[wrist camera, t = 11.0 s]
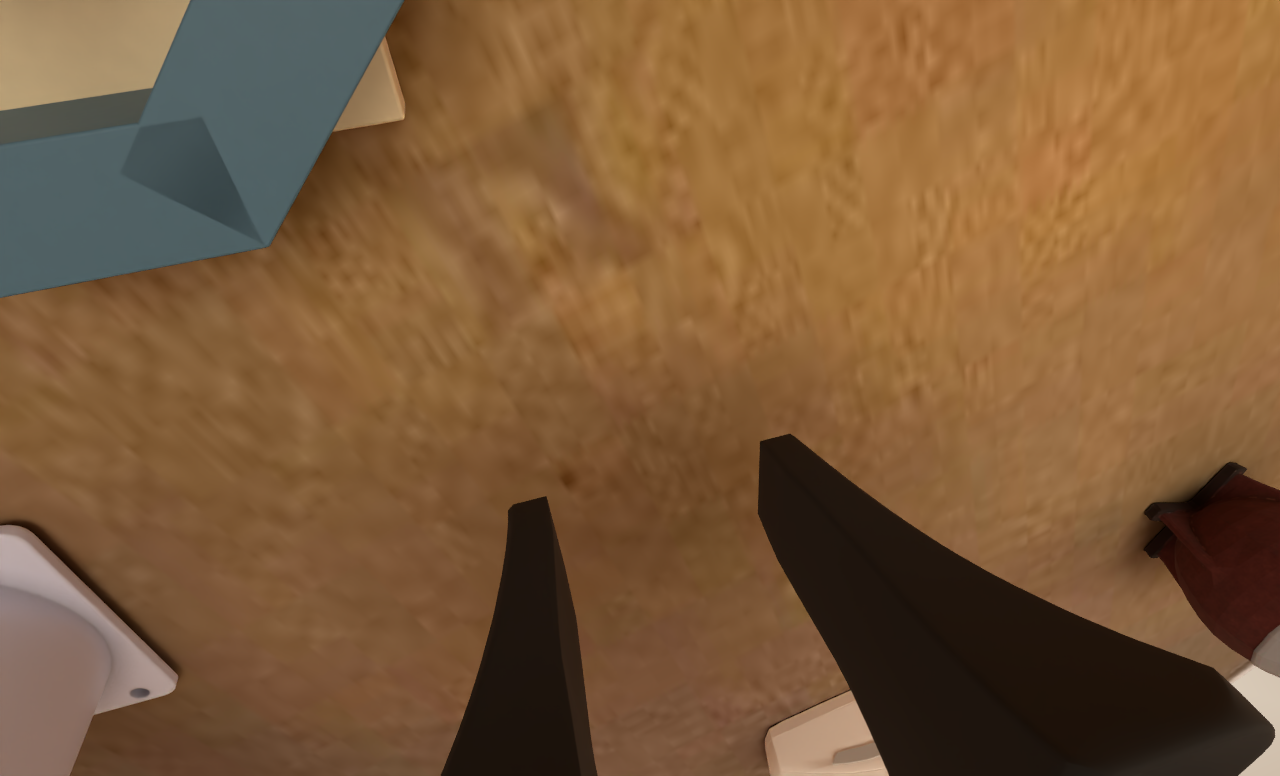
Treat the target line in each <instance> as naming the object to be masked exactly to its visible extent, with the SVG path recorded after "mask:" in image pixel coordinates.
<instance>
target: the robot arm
mask: <svg viewBox="0 0 1280 776" xmlns="http://www.w3.org/2000/svg"><path fill="white" fill-rule="evenodd" d="M758 515H759V517H760V519H761V522H762V524H763V527H764V529H765V532H766V534H767V536H768V539H769V541H770V543H771V546H772V548H773V550H774V552H775V555H776V557H777V559H778V561H779V563H780V565H781V567H782V568H783V570H784V572H785V574H786V575H787V577H788V579H789V581H790V582H791V584H792V586H793V588H794V589H795V591H796V593H797V595H798V596H799V598H800V600H801V602H802V603H803V605H804V607H805V609H806V610H807V612H808V614H809V615H810V617H811V619H812V621H813V622H814V624H815V626H816V627H817V629H818V631H819V633H820V634H821V636H822V638H823V640H824V641H825V643H826V645H827V646H828V648H829V650H830V652H831V653H832V655H833V657H834V658H835V660H836V662H837V664H838V666H839V668H840V670H841V672H842V673H843V675H844V677H845V679H846V681H847V683H848V685H849V687H850V689H851V692H852V694H853V696H854V698H855V700H856V702H857V705H858V707H859V709H860V711H861V713H862V715H863V718H864V720H865V722H866V724H867V726H868V729H869V731H870V733H871V735H872V737H873V740H874V742H875V744H876V747H877V749H878V751H879V753H880V756H881V758H882V760H883V763H884V765H885V767H886V769H887V772H888V774H889V776H1238V775H1239V774H1240V773H1241V772H1242V771H1244V770H1245V769H1246V768H1247V767H1248V766H1249V765H1250V764H1252V763H1253V762H1254V761H1255V760H1256V759H1257V758H1258V757H1259V756H1260V755H1262V754H1263V753H1264V752H1265V750H1266V749H1267V748H1268V747H1269V746H1270V745H1271V744H1272V742H1273V740H1274V738H1275V729H1274V727H1273V726H1272V724H1271V723H1270V722H1269V721H1268V720H1267V719H1266V718H1265V717H1264V716H1263V715H1262V714H1261V713H1260V712H1259V711H1258V710H1257V709H1256V708H1255V707H1254V706H1253V705H1252V704H1251V703H1250V702H1249V701H1248V700H1247V699H1246V698H1245V697H1243V696H1242V694H1241V693H1240V692H1239V691H1238V690H1237V689H1236V688H1234V687H1233V686H1232V685H1231V684H1230V683H1229V682H1228V681H1227V680H1226V679H1225V678H1224V677H1223V676H1222V675H1220V674H1219V673H1218V672H1217V671H1216V670H1215V669H1214V668H1212V667H1209V666H1207V665H1204V664H1201V663H1198V662H1196V661H1193V660H1190V659H1187V658H1185V657H1182V656H1179V655H1176V654H1174V653H1171V652H1168V651H1165V650H1163V649H1160V648H1157V647H1154V646H1152V645H1149V644H1146V643H1143V642H1141V641H1138V640H1135V639H1133V638H1130V637H1128V636H1125V635H1123V634H1120V633H1118V632H1116V631H1113V630H1111V629H1108V628H1106V627H1104V626H1101V625H1099V624H1096V623H1094V622H1092V621H1089V620H1087V619H1084V618H1082V617H1080V616H1078V615H1075V614H1073V613H1071V612H1069V611H1066V610H1064V609H1062V608H1060V607H1058V606H1056V605H1054V604H1052V603H1050V602H1048V601H1045V600H1043V599H1041V598H1039V597H1037V596H1035V595H1033V594H1031V593H1029V592H1027V591H1025V590H1023V589H1021V588H1018V587H1016V586H1014V585H1012V584H1010V583H1008V582H1006V581H1005V580H1003V579H1001V578H999V577H997V576H995V575H993V574H991V573H989V572H988V571H986V570H984V569H982V568H981V567H979V566H977V565H975V564H973V563H972V562H970V561H968V560H966V559H965V558H963V557H961V556H959V555H958V554H956V553H954V552H953V551H951V550H950V549H948V548H946V547H945V546H943V545H941V544H940V543H938V542H937V541H935V540H933V539H932V538H930V537H929V536H927V535H926V534H924V533H923V532H921V531H920V530H918V529H917V528H915V527H914V526H912V525H911V524H909V523H908V522H906V521H905V520H903V519H902V518H900V517H899V516H897V515H896V514H895V513H893V512H892V511H890V510H889V509H887V508H886V507H885V506H883V505H882V504H881V503H879V502H878V501H877V500H875V499H874V498H872V497H871V496H870V495H868V494H867V493H866V492H864V491H863V490H861V489H860V488H859V487H857V486H856V485H855V484H854V483H852V482H851V481H850V480H848V479H847V478H846V477H844V476H843V475H842V474H841V473H839V472H838V471H837V470H836V469H834V468H833V467H832V466H830V465H829V464H828V463H827V462H825V461H824V460H823V459H822V458H820V457H819V456H818V455H817V454H816V453H814V452H813V451H812V450H811V449H809V448H808V447H807V446H806V445H804V444H803V443H802V442H801V441H799V440H798V439H797V438H796V437H794V436H793V435H791V434H787V435H783V436H779V437H775V438H771V439H767V440H763V441H760V461H759V495H758ZM177 681H178V675H177V674H176V673H175V672H174V671H173V670H172V669H171V668H170V667H169V666H168V665H167V664H166V663H165V662H164V661H163V660H162V659H161V658H160V657H159V656H158V655H157V654H156V653H155V652H154V651H153V650H152V649H151V648H150V647H149V646H148V645H147V644H146V643H145V642H144V641H143V640H142V639H141V638H140V637H139V636H138V635H137V634H136V633H135V632H134V631H133V630H132V629H130V628H129V627H128V626H127V625H126V624H125V623H124V622H123V621H122V620H121V619H120V618H119V617H118V616H117V615H116V614H115V613H114V612H113V611H112V610H111V609H110V608H109V607H108V606H107V605H106V604H105V603H104V602H103V601H102V600H101V599H100V598H99V597H98V596H97V595H96V594H95V593H94V592H93V591H92V590H91V589H90V588H89V587H88V586H87V585H86V584H85V583H84V582H83V581H81V580H80V579H79V578H78V577H77V576H76V575H75V574H74V573H73V572H72V571H71V570H70V569H69V568H68V567H67V566H66V565H65V564H64V563H63V562H62V561H61V560H60V559H59V558H58V557H57V556H56V555H55V554H54V553H53V552H52V551H51V550H50V549H49V548H48V547H47V546H46V545H45V544H44V543H43V542H42V541H41V540H40V539H39V538H38V537H37V536H36V535H35V534H33V533H32V532H31V531H29V530H28V529H26V528H23V527H20V526H15V525H3V526H0V776H70V773H71V771H72V768H73V766H74V763H75V761H76V758H77V756H78V753H79V751H80V748H81V745H82V743H83V740H84V738H85V735H86V733H87V730H88V728H89V725H90V723H91V720H92V718H93V715H96V714H99V713H103V712H106V711H110V710H114V709H117V708H121V707H124V706H128V705H132V704H135V703H139V702H142V701H146V700H150V699H153V698H157V697H160V696H164V695H167V694H169V693H171V692H172V691H173V690H175V687H176V684H177ZM441 776H597V771H596V766H595V761H594V754H593V748H592V742H591V735H590V727H589V719H588V710H587V702H586V694H585V686H584V677H583V669H582V661H581V653H580V645H579V636H578V628H577V620H576V615H575V610H574V606H573V601H572V597H571V592H570V588H569V583H568V579H567V574H566V570H565V565H564V561H563V558H562V554H561V550H560V546H559V542H558V539H557V535H556V531H555V527H554V523H553V519H552V516H551V512H550V508H549V504H548V500H547V497H546V496H545V497H541V498H537V499H533V500H529V501H525V502H521V503H517V504H514V505H512V507H511V508H510V509H509V510H508V532H507V543H506V551H505V558H504V565H503V571H502V577H501V582H500V587H499V592H498V596H497V601H496V606H495V611H494V615H493V620H492V624H491V627H490V631H489V635H488V638H487V642H486V646H485V650H484V653H483V657H482V661H481V664H480V668H479V671H478V674H477V677H476V681H475V684H474V687H473V690H472V693H471V696H470V699H469V702H468V705H467V708H466V711H465V714H464V716H463V719H462V722H461V725H460V728H459V730H458V733H457V735H456V738H455V741H454V743H453V746H452V748H451V751H450V753H449V756H448V759H447V761H446V764H445V766H444V769H443V771H442V774H441Z"/></svg>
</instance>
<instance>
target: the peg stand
mask: <svg viewBox="0 0 1280 776" xmlns="http://www.w3.org/2000/svg"><path fill="white" fill-rule="evenodd" d="M189 2H190V0H0V111H2V110H9V109H16V108H22V107H29V106H35V105H42V104H49V103H55V102H62V101H69V100H75V99H82V98H88V97H95V96H102V95H108V94H115V93H121V92H128V91H135V90H141V89H148V88H153V86H154V83H155V81H156V79H157V76H158V74H159V72H160V69H161V67H162V65H163V62H164V60H165V58H166V55H167V53H168V51H169V48H170V46H171V44H172V41H173V39H174V37H175V34H176V32H177V30H178V28H179V25H180V23H181V21H182V18H183V16H184V14H185V11H186V9H187V7H188V4H189ZM404 117H405V101H404V98H403V95H402V91H401V88H400V85H399V81H398V78H397V74H396V71H395V68H394V64H393V61H392V58H391V54H390V51H389V47H388V44H387V41H386V37H384V39H383V40H382V42H381V44H380V46H379V48H378V50H377V51H376V53H375V55H374V57H373V59H372V60H371V62H370V64H369V66H368V68H367V70H366V71H365V73H364V75H363V77H362V79H361V81H360V82H359V84H358V86H357V88H356V90H355V91H354V93H353V95H352V97H351V99H350V101H349V102H348V104H347V106H346V108H345V110H344V112H343V113H342V115H341V117H340V119H339V121H338V122H337V124H336V126H335V128H334V130H333V132H334V131H340V130H346V129H352V128H358V127H364V126H370V125H376V124H382V123H388V122H394V121H400V120H403V119H404Z"/></svg>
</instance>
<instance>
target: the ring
mask: <svg viewBox="0 0 1280 776" xmlns="http://www.w3.org/2000/svg"><path fill="white" fill-rule="evenodd" d="M403 2H404V0H190V2H189V4H188V7H187V9H186V11H185V14H184V16H183V18H182V21H181V23H180V25H179V28H178V30H177V32H176V34H175V37H174V39H173V41H172V44H171V46H170V48H169V51H168V53H167V55H166V58H165V60H164V62H163V65H162V67H161V69H160V72H159V74H158V76H157V79H156V81H155V83H154V86H153V88H148V89H141V90H135V91H128V92H121V93H115V94H108V95H102V96H95V97H88V98H82V99H75V100H69V101H62V102H55V103H49V104H42V105H35V106H29V107H22V108H16V109H9V110H2V111H0V298H2V297H7V296H12V295H17V294H23V293H28V292H33V291H39V290H44V289H49V288H55V287H60V286H65V285H70V284H76V283H81V282H86V281H92V280H97V279H102V278H108V277H113V276H118V275H124V274H129V273H134V272H139V271H145V270H150V269H155V268H161V267H166V266H171V265H177V264H182V263H187V262H192V261H198V260H203V259H208V258H214V257H219V256H224V255H230V254H235V253H240V252H245V251H251V250H256V249H261V248H266V247H269V246H270V245H271V243H272V241H273V239H274V237H275V236H276V234H277V232H278V230H279V228H280V226H281V225H282V223H283V221H284V219H285V217H286V215H287V214H288V212H289V210H290V208H291V206H292V205H293V203H294V201H295V199H296V197H297V195H298V194H299V192H300V190H301V188H302V186H303V184H304V183H305V181H306V179H307V177H308V175H309V174H310V172H311V170H312V168H313V166H314V164H315V163H316V161H317V159H318V157H319V155H320V153H321V152H322V150H323V148H324V146H325V144H326V143H327V141H328V139H329V137H330V135H331V133H332V132H333V130H334V128H335V126H336V124H337V122H338V121H339V119H340V117H341V115H342V113H343V112H344V110H345V108H346V106H347V104H348V102H349V101H350V99H351V97H352V95H353V93H354V91H355V90H356V88H357V86H358V84H359V82H360V81H361V79H362V77H363V75H364V73H365V71H366V70H367V68H368V66H369V64H370V62H371V60H372V59H373V57H374V55H375V53H376V51H377V50H378V48H379V46H380V44H381V42H382V40H383V39H384V37H385V35H386V33H387V31H388V29H389V28H390V26H391V24H392V22H393V20H394V19H395V17H396V15H397V13H398V11H399V9H400V8H401V6H402V4H403Z"/></svg>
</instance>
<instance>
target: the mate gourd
mask: <svg viewBox="0 0 1280 776" xmlns="http://www.w3.org/2000/svg"><path fill="white" fill-rule="evenodd" d="M1246 470H1247V469H1246V468H1245V467H1243V466H1240V465H1238V464H1237V463H1229V464H1227V465H1226V466H1225V467H1224V468H1223V469H1222V470H1221V471H1220V472H1219V473H1218V474H1217V475H1216V476H1215V477H1214V478H1213V479H1212V480H1211V481H1210V482H1209V483H1208V484H1207V485H1206V486H1205V487H1204V488H1203V489H1202V490H1201V491H1200V492H1199V493H1198V494H1197V495H1196V496H1195V497H1194V498H1193V499H1192V500H1191V501H1189V502H1187V503H1154V504H1153V505H1151V506H1150V507H1149V509H1148V510H1147V511H1146V512H1145V515H1146V516H1147V517H1148V518H1149V519H1150V520H1152V521H1162V522H1163V523H1164V524H1165V525H1166V527H1165V528H1164V529H1163V530H1162V531H1161V532H1160V533H1159V534H1158V535H1157V536H1156V537H1155V538H1154V540H1153V541H1152V542H1151V543H1150V544H1149V545H1148V546H1147V547H1146V548H1145V549H1144V551H1146V552H1147V554H1148V555H1149V556H1150V558H1158V557H1160V559H1161V560H1162V561H1163V562H1164V564H1165V565H1166V567H1167V568H1168V569H1169V571H1170V572H1171V574H1172V575H1173V577H1174V578H1175V580H1176V581H1177V583H1178V584H1179V586H1180V587H1181V588H1182V590H1183V592H1184V594H1185V596H1186V598H1187V600H1188V602H1189V603H1190V605H1191V606H1192V608H1193V609H1194V611H1195V612H1196V614H1197V615H1198V617H1199V618H1200V619H1201V621H1202V622H1203V623H1204V624H1205V625H1206V626H1207V628H1208V629H1209V630H1210V631H1211V632H1212V633H1213V635H1215V636H1216V637H1217V638H1218V639H1220V640H1221V641H1222V642H1223V643H1225V644H1226V645H1227V646H1228V647H1229V648H1231V649H1232V650H1234V651H1235V652H1237V653H1239V654H1240V655H1242V656H1243V657H1245V658H1247V659H1248V660H1250V661H1251V663H1252V664H1253V665H1255V666H1257V667H1258V668H1260V669H1262V670H1264V671H1266V672H1268V673H1270V674H1273V675H1275V676H1278V677H1280V490H1278V489H1275V488H1273V487H1270V486H1268V485H1265V484H1262V483H1260V482H1258V481H1255V480H1253V479H1251V478H1249V477H1246V476H1244V475H1243V473H1244V472H1245V471H1246Z"/></svg>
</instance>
